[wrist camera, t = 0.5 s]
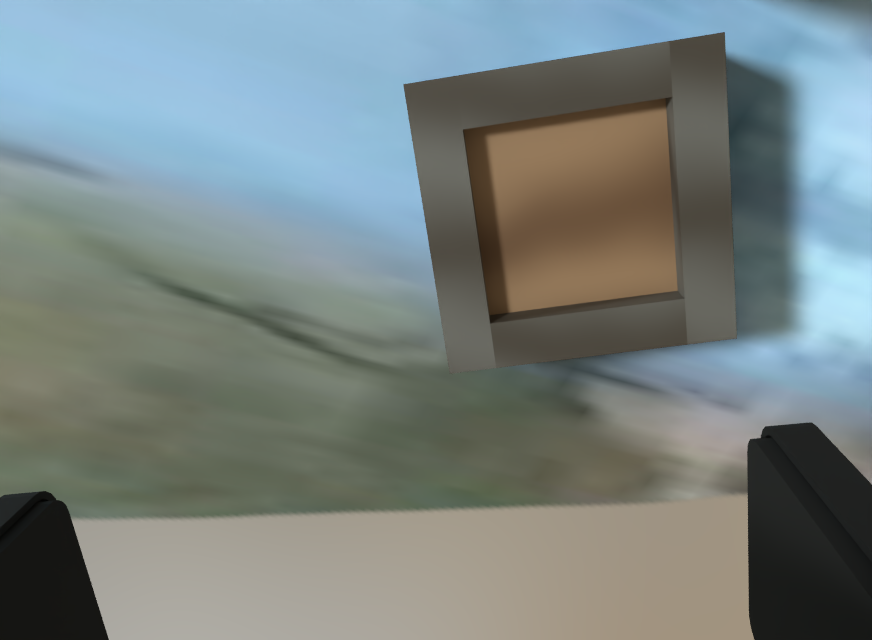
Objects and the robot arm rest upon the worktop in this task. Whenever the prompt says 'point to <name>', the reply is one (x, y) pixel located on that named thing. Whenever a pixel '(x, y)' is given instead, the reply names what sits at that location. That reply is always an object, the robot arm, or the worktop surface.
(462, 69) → the worktop surface
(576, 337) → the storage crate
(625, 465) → the worktop surface
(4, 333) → the worktop surface
